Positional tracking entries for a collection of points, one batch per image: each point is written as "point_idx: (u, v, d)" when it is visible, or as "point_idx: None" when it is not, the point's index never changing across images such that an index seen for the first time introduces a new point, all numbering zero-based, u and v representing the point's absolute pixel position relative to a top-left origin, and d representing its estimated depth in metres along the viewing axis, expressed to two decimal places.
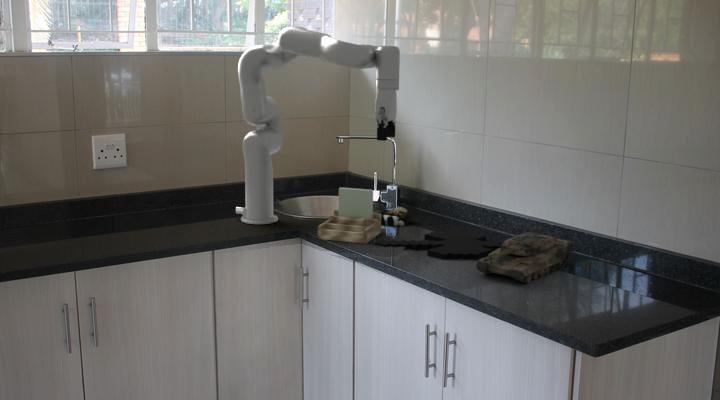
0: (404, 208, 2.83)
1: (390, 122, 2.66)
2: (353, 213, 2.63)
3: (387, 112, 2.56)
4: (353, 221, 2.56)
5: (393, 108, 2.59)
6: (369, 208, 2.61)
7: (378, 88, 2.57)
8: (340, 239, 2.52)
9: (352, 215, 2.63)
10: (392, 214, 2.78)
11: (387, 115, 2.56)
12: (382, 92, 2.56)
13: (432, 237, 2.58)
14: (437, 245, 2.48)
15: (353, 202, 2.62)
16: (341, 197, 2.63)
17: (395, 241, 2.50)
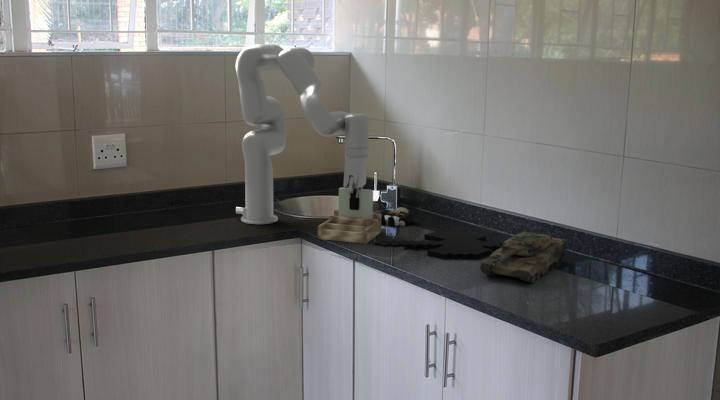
0: (405, 208, 2.83)
1: None
2: (353, 213, 2.63)
3: (356, 180, 2.56)
4: (353, 221, 2.56)
5: (362, 175, 2.60)
6: (369, 208, 2.61)
7: (347, 156, 2.58)
8: (340, 239, 2.52)
9: (352, 215, 2.63)
10: (393, 214, 2.77)
11: (356, 183, 2.57)
12: (351, 160, 2.56)
13: (432, 237, 2.58)
14: (437, 245, 2.48)
15: None
16: (341, 197, 2.63)
17: (395, 241, 2.50)
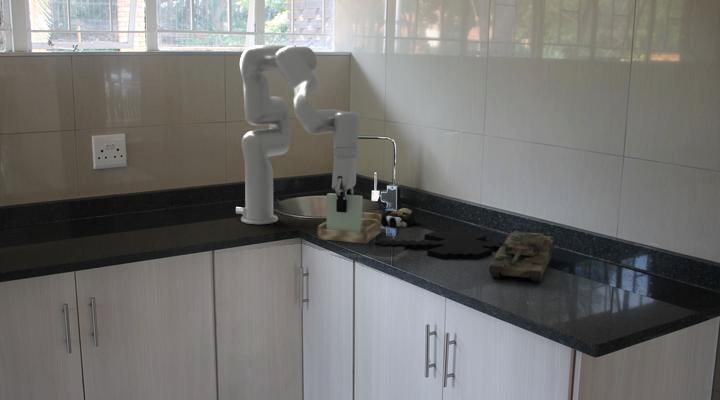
0: (409, 209, 2.81)
1: (348, 193, 2.55)
2: (342, 220, 2.53)
3: (345, 181, 2.46)
4: None
5: (352, 176, 2.50)
6: (358, 215, 2.51)
7: (336, 156, 2.47)
8: (340, 239, 2.52)
9: (341, 222, 2.53)
10: (395, 215, 2.76)
11: (345, 184, 2.46)
12: (339, 160, 2.46)
13: (432, 237, 2.58)
14: (437, 245, 2.48)
15: None
16: (329, 203, 2.53)
17: (395, 241, 2.50)
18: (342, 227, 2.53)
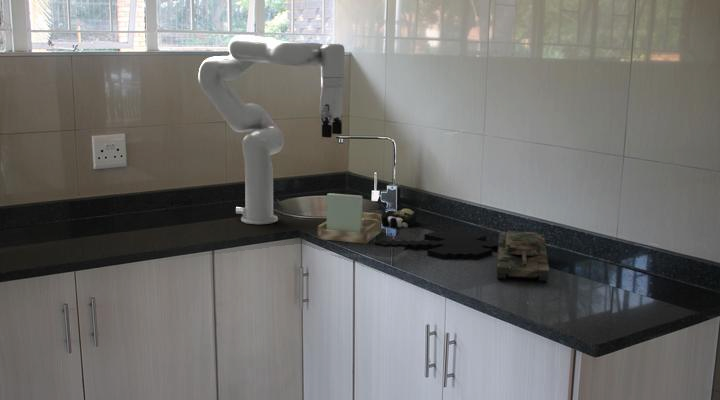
0: (411, 210, 2.81)
1: (337, 119, 2.70)
2: (342, 220, 2.53)
3: (331, 109, 2.59)
4: None
5: (338, 105, 2.63)
6: (358, 215, 2.51)
7: (323, 85, 2.61)
8: (340, 239, 2.52)
9: (341, 222, 2.53)
10: (397, 216, 2.76)
11: (331, 112, 2.60)
12: (326, 89, 2.59)
13: (432, 237, 2.58)
14: (437, 245, 2.48)
15: (342, 209, 2.52)
16: (329, 203, 2.53)
17: (395, 241, 2.50)
18: (342, 227, 2.53)
